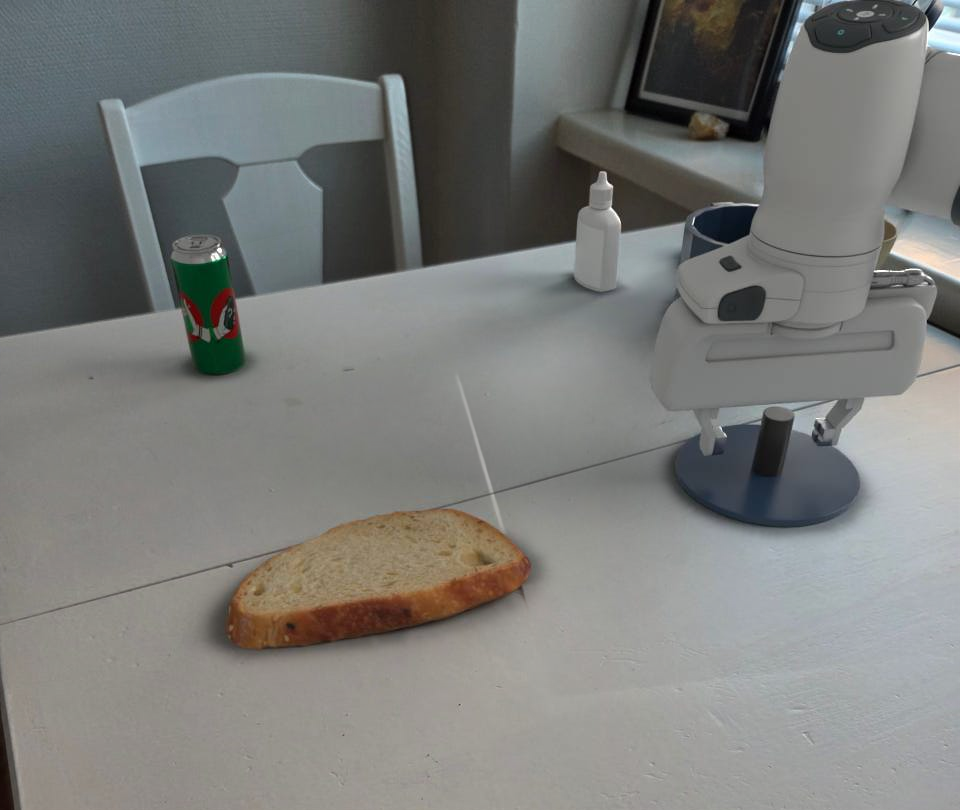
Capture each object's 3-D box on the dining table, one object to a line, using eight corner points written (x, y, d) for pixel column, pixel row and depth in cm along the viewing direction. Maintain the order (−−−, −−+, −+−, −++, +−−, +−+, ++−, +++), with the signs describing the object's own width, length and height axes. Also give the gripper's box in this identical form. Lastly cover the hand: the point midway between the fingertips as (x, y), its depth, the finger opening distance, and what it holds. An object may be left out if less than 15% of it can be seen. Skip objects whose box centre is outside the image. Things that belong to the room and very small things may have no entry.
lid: (812, 430, 87) (829, 364, 83) (888, 524, 76) (911, 454, 72) (652, 443, 85) (661, 377, 81) (707, 541, 74) (720, 471, 70)
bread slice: (203, 638, 66) (192, 595, 64) (338, 501, 78) (334, 461, 76) (443, 716, 61) (441, 673, 58) (548, 557, 73) (550, 515, 70)
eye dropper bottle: (577, 295, 109) (585, 181, 101) (572, 275, 113) (579, 164, 105) (617, 294, 109) (627, 180, 101) (610, 274, 113) (619, 163, 105)
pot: (766, 279, 112) (783, 192, 106) (836, 352, 98) (860, 256, 92) (651, 286, 111) (661, 198, 104) (705, 362, 97) (720, 265, 90)
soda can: (248, 354, 98) (227, 231, 90) (245, 377, 94) (223, 251, 86) (196, 356, 98) (171, 233, 90) (191, 380, 94) (164, 254, 86)
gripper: (922, 251, 73) (872, 418, 82) (656, 266, 71) (635, 436, 80) (966, 285, 68) (908, 458, 77) (682, 301, 66) (656, 478, 75)
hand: (767, 447), depth 79 cm, fingers open, 8 cm apart
